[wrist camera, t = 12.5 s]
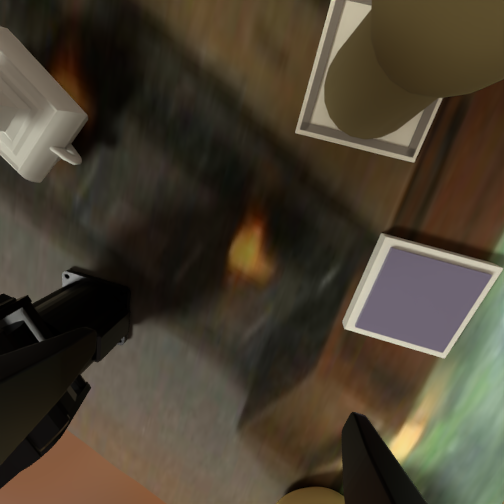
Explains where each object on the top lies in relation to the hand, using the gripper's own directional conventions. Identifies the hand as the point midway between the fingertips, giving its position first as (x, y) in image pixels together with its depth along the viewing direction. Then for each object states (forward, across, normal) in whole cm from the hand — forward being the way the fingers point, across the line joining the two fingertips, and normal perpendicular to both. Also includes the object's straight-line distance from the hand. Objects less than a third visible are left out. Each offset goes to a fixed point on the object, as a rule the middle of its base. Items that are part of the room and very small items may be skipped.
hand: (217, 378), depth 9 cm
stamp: (+13, +18, -6) cm, 23 cm away
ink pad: (+13, -12, 0) cm, 18 cm away
